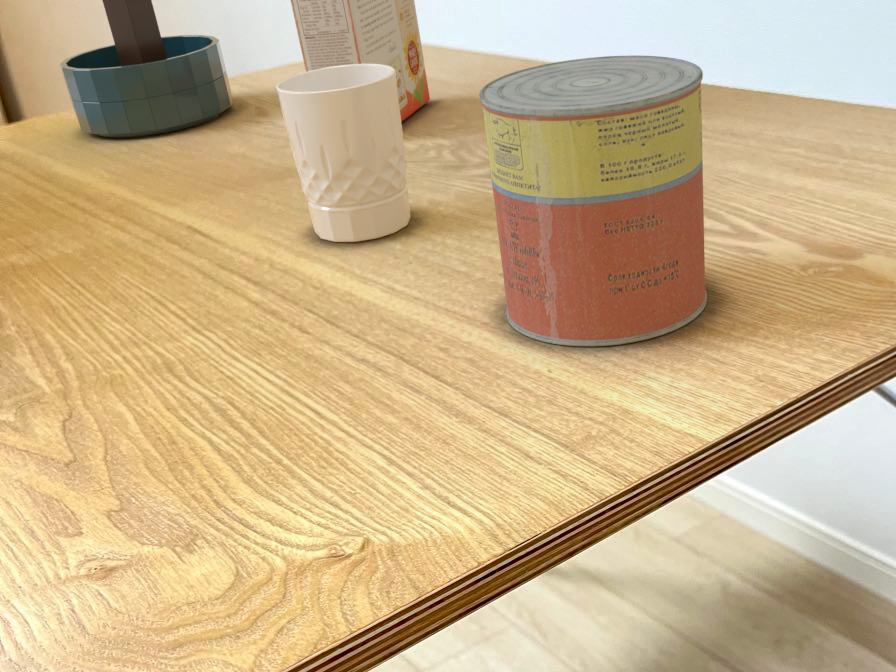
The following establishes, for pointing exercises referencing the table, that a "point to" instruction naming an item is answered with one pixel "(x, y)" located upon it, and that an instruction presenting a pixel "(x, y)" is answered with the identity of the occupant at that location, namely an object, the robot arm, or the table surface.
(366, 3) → the cracker box
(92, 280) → the table surface
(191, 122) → the bowl
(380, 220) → the white cup
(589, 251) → the canned food
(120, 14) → the stick
